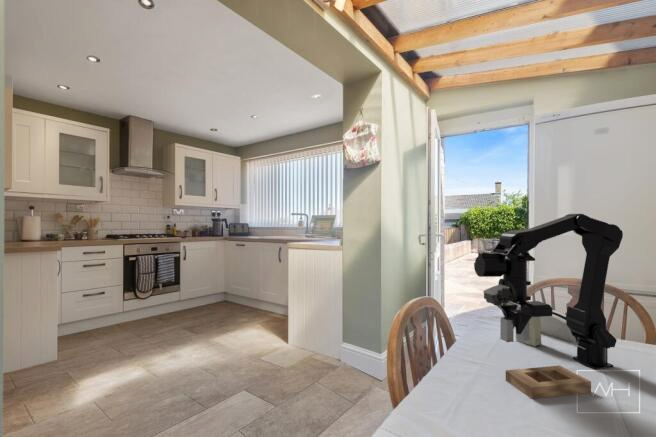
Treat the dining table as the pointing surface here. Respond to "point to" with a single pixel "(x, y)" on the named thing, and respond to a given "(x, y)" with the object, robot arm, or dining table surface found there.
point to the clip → (512, 330)
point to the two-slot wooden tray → (547, 381)
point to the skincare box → (533, 332)
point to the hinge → (557, 326)
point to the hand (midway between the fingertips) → (514, 332)
